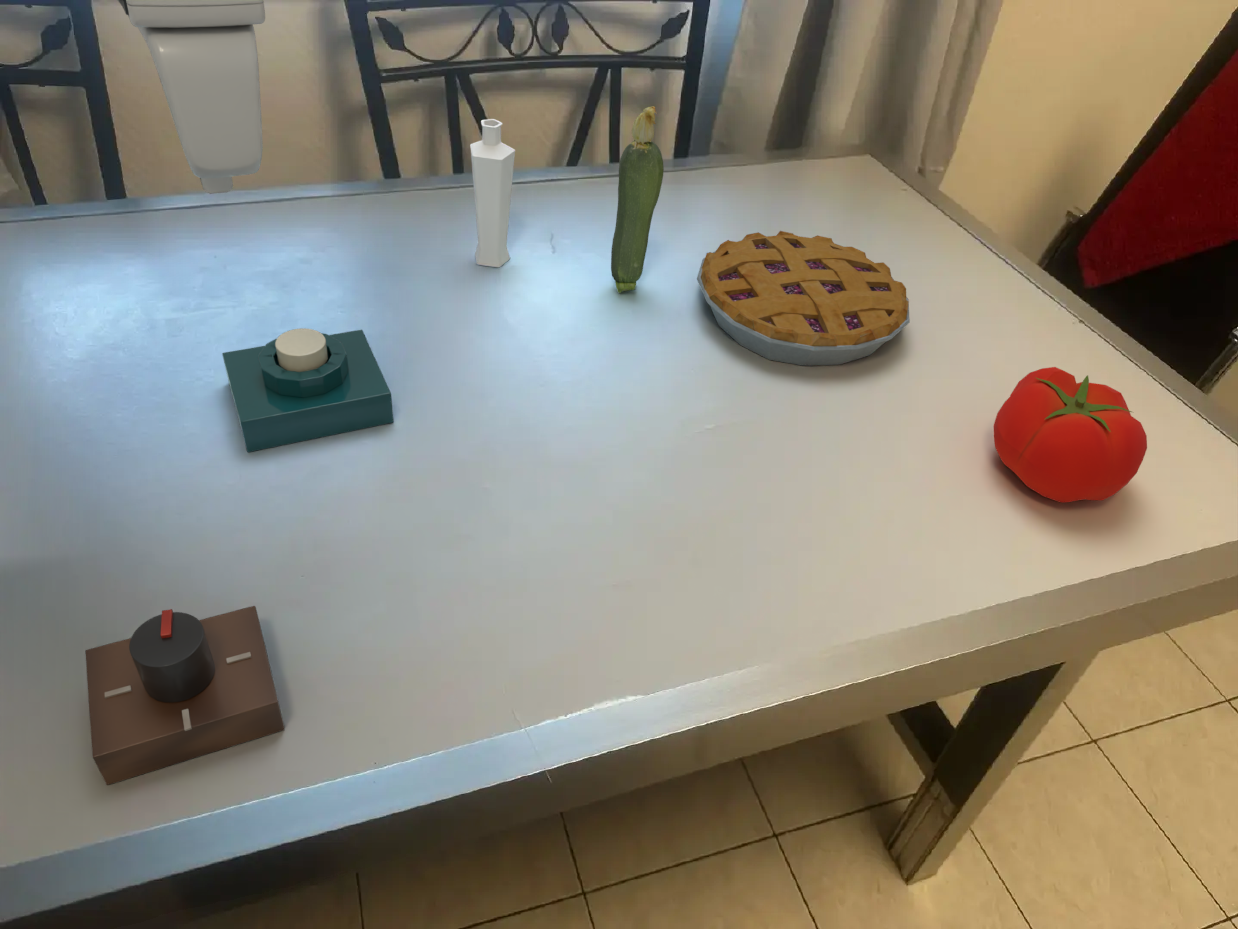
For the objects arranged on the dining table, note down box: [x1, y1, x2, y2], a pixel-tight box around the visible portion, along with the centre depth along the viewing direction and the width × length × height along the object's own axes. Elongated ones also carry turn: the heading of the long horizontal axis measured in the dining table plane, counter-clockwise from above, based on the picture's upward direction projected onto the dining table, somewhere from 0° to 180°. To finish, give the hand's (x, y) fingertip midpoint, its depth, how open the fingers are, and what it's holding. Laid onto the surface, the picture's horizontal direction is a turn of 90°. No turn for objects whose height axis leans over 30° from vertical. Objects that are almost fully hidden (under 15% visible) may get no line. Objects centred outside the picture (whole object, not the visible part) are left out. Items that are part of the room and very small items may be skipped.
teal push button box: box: [221, 329, 395, 453], centre depth 81 cm, size 12×10×5 cm
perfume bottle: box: [469, 118, 516, 268], centre depth 99 cm, size 5×4×15 cm
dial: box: [129, 608, 215, 703], centre depth 56 cm, size 4×4×4 cm
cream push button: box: [275, 327, 328, 372], centre depth 79 cm, size 4×4×2 cm
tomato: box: [993, 366, 1148, 504], centre depth 82 cm, size 13×12×8 cm
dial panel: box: [85, 605, 286, 786], centre depth 59 cm, size 10×8×3 cm
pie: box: [696, 230, 911, 366], centre depth 99 cm, size 22×22×5 cm
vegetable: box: [610, 105, 665, 295], centre depth 95 cm, size 4×4×20 cm
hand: (215, 183), depth 61 cm, fingers closed
